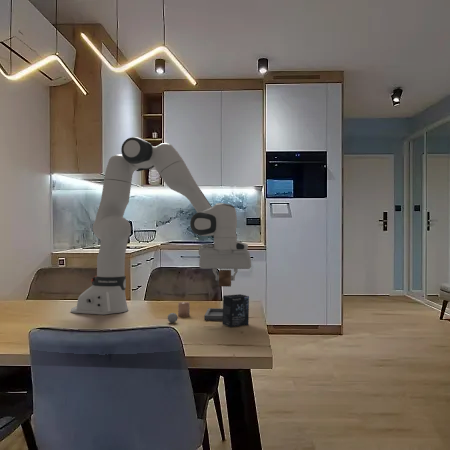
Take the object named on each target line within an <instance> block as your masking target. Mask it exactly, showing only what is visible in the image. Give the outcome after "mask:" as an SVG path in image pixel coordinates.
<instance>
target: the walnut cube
mask: <svg viewBox="0 0 450 450" xmlns="http://www.w3.org/2000/svg"><path fill="white" fill-rule="evenodd" d="M218 270H219V271H218V275H219V280H218V287H223V288H225V287H228V288H229V287H231V286H232V281H231V276H232V269H218Z"/></svg>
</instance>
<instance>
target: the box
mask: <svg viewBox="0 0 450 450" xmlns="http://www.w3.org/2000/svg"><path fill="white" fill-rule="evenodd" d="M249 307H250V297H249V295H246V294H229V295H227V294H226V295H225V294H224V295H223V296H222V308H223V321H222V325H223V326H227V327H230V328H233V327H240V326H241V327H242V326H249V321H250V318H249V316H250V315H249V314H250V313H249V312H250V308H249Z"/></svg>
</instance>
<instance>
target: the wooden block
mask: <svg viewBox="0 0 450 450" xmlns="http://www.w3.org/2000/svg"><path fill="white" fill-rule="evenodd" d="M190 305H191V303H190V302H189V301H178V304H177V307H178V308H177V309H178V311H177V312H178V313H177V317H189V316H190V315H191V314H190V308H191V307H190Z"/></svg>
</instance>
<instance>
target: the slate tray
mask: <svg viewBox="0 0 450 450" xmlns="http://www.w3.org/2000/svg"><path fill="white" fill-rule="evenodd" d="M203 317H204V321H215V322H216V321H217V322H218V321H220V322H221V321H222V322H223V307H222V308H221V307H220V308H217V307H213V308H212V307H208V308H207V310H206V312H205V314H204V316H203Z"/></svg>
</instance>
